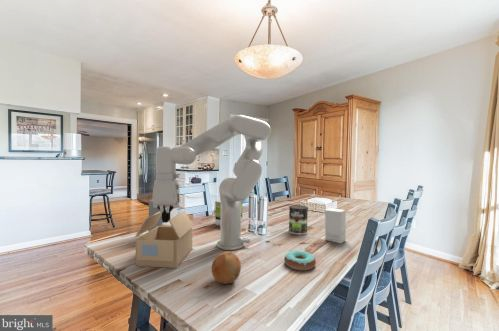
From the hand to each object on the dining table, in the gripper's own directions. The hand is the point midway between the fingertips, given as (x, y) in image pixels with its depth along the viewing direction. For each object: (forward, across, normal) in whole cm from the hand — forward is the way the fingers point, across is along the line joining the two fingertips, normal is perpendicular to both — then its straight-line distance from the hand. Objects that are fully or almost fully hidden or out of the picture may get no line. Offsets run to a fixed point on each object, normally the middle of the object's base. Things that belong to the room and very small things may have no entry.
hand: (166, 221), depth 100 cm
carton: (+15, 0, 0) cm, 15 cm away
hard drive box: (+15, +12, -24) cm, 31 cm away
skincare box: (+15, -75, -29) cm, 82 cm away
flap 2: (+4, -9, 0) cm, 10 cm away
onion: (+15, -28, +17) cm, 36 cm away
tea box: (+15, -17, -53) cm, 58 cm away
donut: (+15, -54, +1) cm, 56 cm away
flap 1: (+4, +8, 0) cm, 9 cm away
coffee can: (+15, -58, -41) cm, 73 cm away
